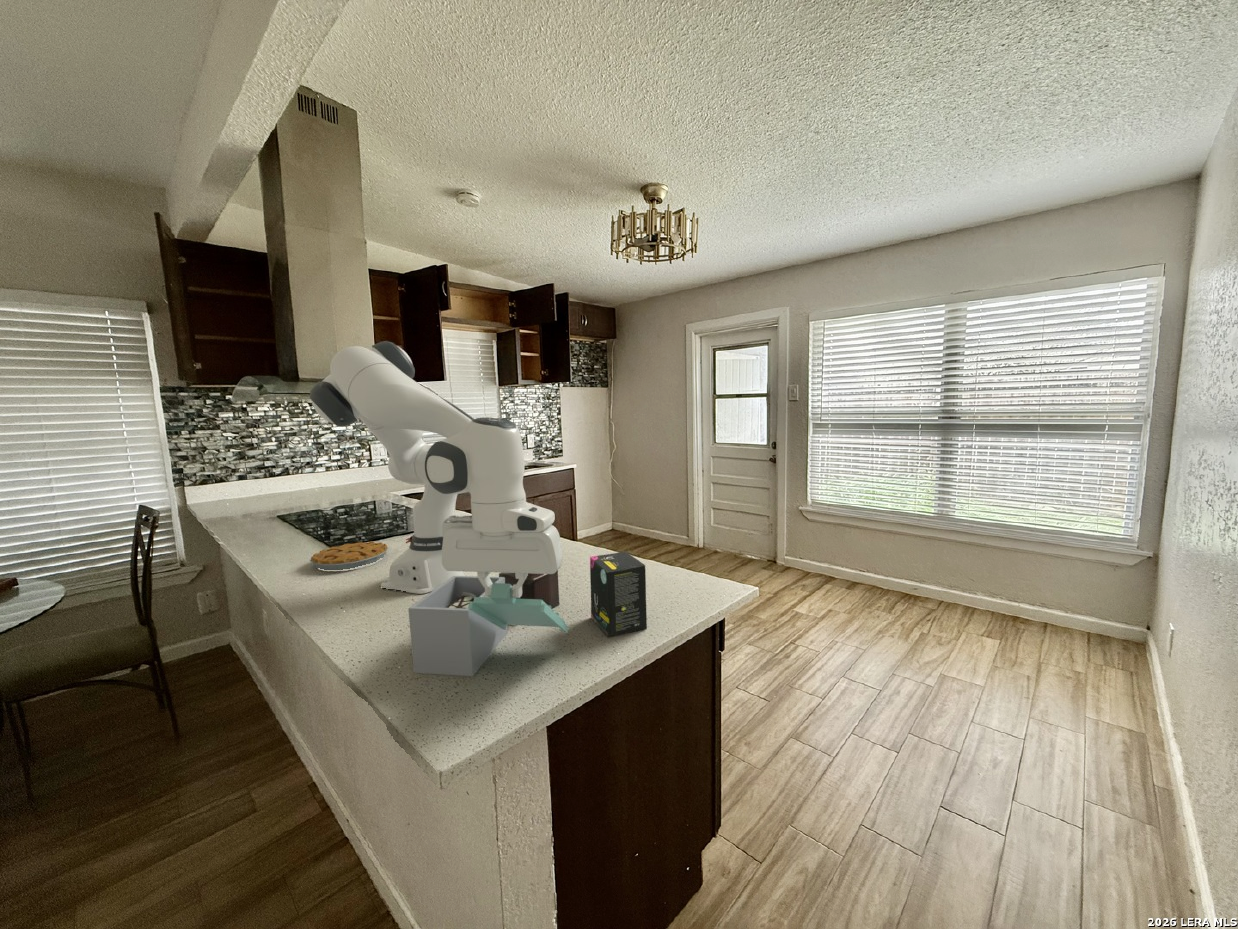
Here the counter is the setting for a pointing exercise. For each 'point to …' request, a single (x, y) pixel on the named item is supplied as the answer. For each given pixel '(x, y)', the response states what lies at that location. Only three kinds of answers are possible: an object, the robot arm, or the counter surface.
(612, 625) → the tampon box
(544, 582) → the manual coffee grinder
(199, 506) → the counter surface
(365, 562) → the pie
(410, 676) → the counter surface
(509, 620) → the lid
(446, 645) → the tub
